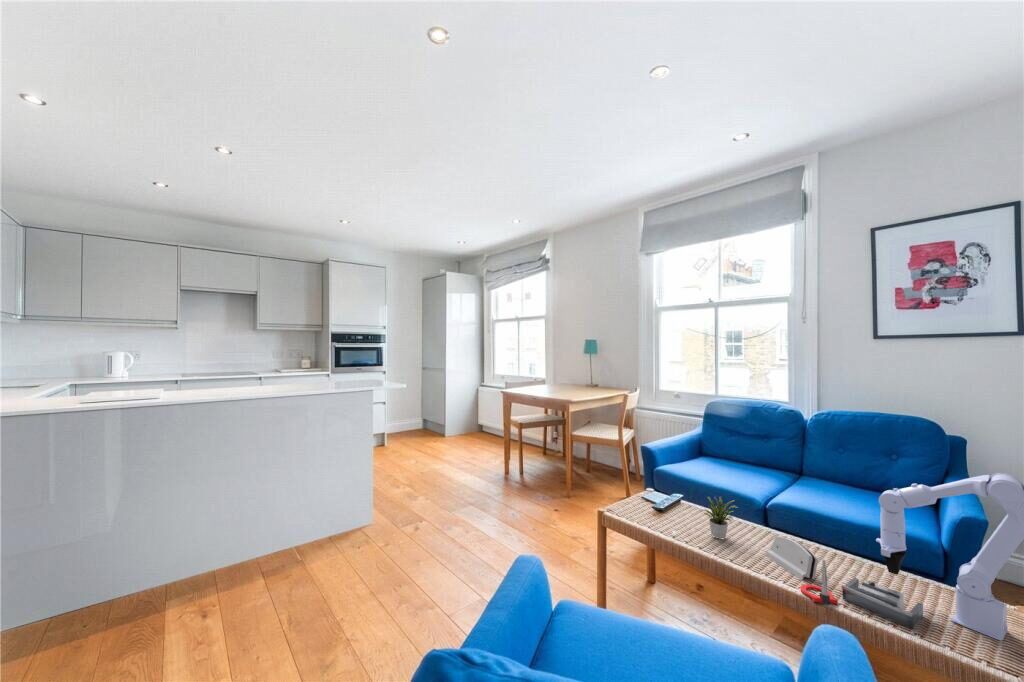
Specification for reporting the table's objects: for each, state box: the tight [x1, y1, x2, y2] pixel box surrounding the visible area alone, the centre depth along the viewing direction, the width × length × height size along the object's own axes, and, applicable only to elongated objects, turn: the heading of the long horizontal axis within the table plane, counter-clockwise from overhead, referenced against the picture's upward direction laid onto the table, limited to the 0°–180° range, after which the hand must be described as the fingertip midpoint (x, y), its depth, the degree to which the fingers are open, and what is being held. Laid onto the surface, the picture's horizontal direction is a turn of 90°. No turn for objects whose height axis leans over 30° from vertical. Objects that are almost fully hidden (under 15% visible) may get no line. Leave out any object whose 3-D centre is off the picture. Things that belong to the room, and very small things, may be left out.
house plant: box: [703, 496, 739, 539], centre depth 167 cm, size 14×14×16 cm
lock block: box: [858, 579, 905, 610], centre depth 123 cm, size 9×7×6 cm
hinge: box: [765, 536, 819, 581], centre depth 145 cm, size 17×5×10 cm, turn 8°
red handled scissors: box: [800, 559, 839, 605], centre depth 129 cm, size 8×13×9 cm
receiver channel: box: [841, 577, 924, 630], centre depth 123 cm, size 16×11×4 cm, turn 33°
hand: (893, 572), depth 128 cm, fingers closed
